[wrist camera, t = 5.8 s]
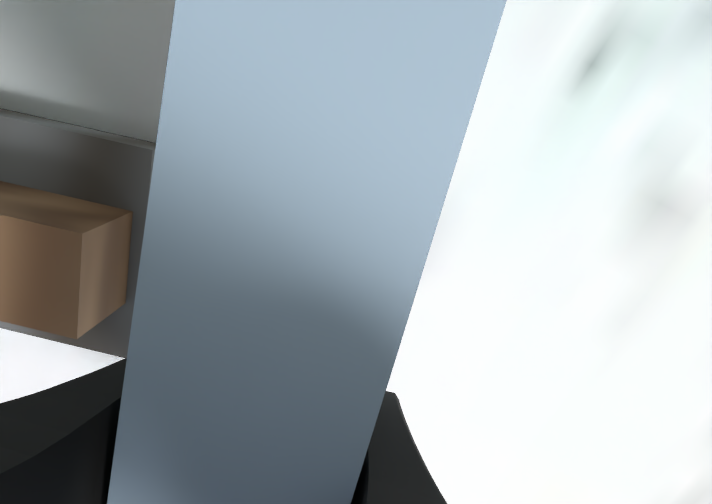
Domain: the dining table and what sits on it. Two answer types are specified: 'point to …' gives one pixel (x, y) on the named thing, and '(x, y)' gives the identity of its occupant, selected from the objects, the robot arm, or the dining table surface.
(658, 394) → the dining table surface
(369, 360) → the beam
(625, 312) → the dining table surface
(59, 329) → the stand
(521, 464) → the dining table surface
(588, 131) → the dining table surface
